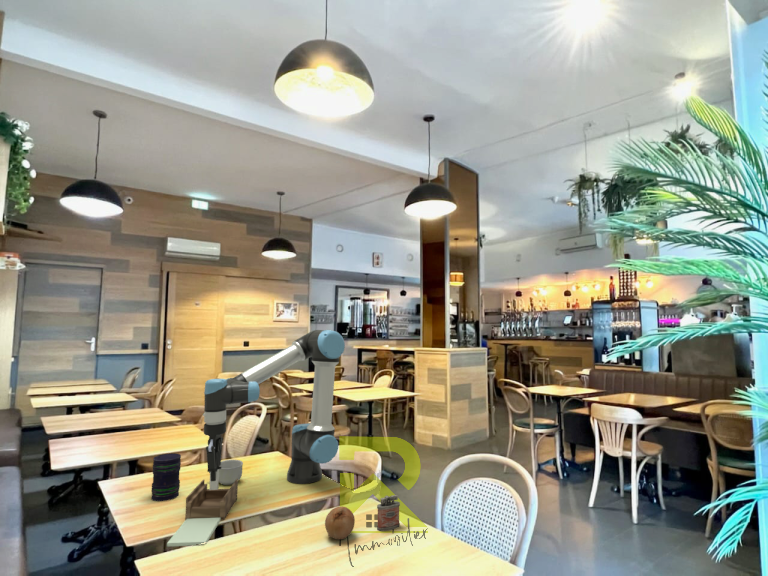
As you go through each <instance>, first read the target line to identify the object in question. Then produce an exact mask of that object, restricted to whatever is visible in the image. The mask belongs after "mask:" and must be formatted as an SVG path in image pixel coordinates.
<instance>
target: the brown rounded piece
mask: <svg viewBox="0 0 768 576" xmlns="http://www.w3.org/2000/svg"><path fill="white" fill-rule="evenodd" d="M355 522H356V519H355V514H354V513H353V512H352V511H351V509H350V508H348V507H346V506H336V507H334V508H332V509H331V510H330V511H329V512H328V513H327V515H326V517H325V521H324V526H325V530H326V532H327V534H328V535H327V536H328V537H330V538H333V539H335V540H337V541H338V540H344V539H345V540H346V538H347V537H349V536H350V535H351V534H352V532H353V530H354V528H355Z"/></svg>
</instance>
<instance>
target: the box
mask: <svg viewBox="0 0 768 576" xmlns="http://www.w3.org/2000/svg"><path fill="white" fill-rule="evenodd" d="M238 487H239V480H238V479H236V480H235V482H234V483H233V484H231V485H230V486H229V488H218V490H210V488H209V489H208V483H205V479H202V480H201V481H200V482H199V483H198V484H197V486H196V487H195V488H193V490H192V491H191V492H190V493H189V494H188V496H186V497H185V514H184V515H185V518H184V521H185V520H186V519H190V518H221V521H224V520H226V518H227V516H228V515H229V514H230V511H232V508H233V507H234V505H235V504H236V502H237V501H238V493H239V492H238V491H239V490H238Z"/></svg>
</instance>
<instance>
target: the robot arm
mask: <svg viewBox="0 0 768 576" xmlns="http://www.w3.org/2000/svg"><path fill="white" fill-rule="evenodd" d="M345 345H346V344H345V340H344V338H343V336H342V335H341V333H339V332H338V331H336V330H330V329H315V330H312V331H309V332H307V333H306V334H304V335H303V336H301V337H299V338H297V339H296V340H294V341H292V343H291V345H289V346H287V347H285V348H284V349H282V350H281V351H279V352H277V353H275V354H273V355H271V356H270V357H268V358H266V359H265V360H262V361H261V362H259V363H257V364H256V365H254V366H252V367H251V368H248V369H246V370H245V371H243V372H241V373H239V374H238V375H236V376H234V377H229V378H211V379H207V380H206V381H205V384H204V392H203V393H204V413H203V414H202V417H203V419H204V420H203V421H204V424H203V434H204V435H205V436H209V437H208V440H207V445H208V446H206V447H205V451H206V460H207V461H206V462H207V470H206V472H207V473H209V472H210V473H209V489H210V490H218V489H220V488H219V487H220V486H219V483H220V482H219V470H218V469H221V467H219V466H220V465H221V461H222V450H223V442H224V441H223V440H224V438H223V436H222V435H223V434H225V433H226V432H227V423H226V420H227V405H232V404H233V405H234V404H242V403H252V402H256V401H258V400H259V397H260V392H261V390H260V386H259V385H260V384H261V383H263V382H265V381H267V380H269V379H270V378H272V377H273V376H275V375H277V374H279V373H281V372H282V371H284V370H285V369H287V368H289V367H291V366H292V365H294V364H296V363H297V362H299V361H303V362H304V361H306V360H307V359H309V358H311V362H312V363H313V365H314V375H313V388H312V403H311V404H312V405H311V415H310V417H311V418H310V423H309V422H308V423H300V424H295V425H294V426H292V430H291V460H290V463H289V467H288V471H287V473H286V480H287V482H289V483H293V484H299V485H302V484H304V485H305V484H312V483H316V482H319V481H320V480H321V479H322V477H323V471H322V468H321V464H323V465H324V464H327V463H330V462H331V461H332V460H333V459H334V458H335V457H336V455H337V453H338V450H339V441H338V440H337V438H336V437H335V429H336V428H335V427H334V425H333V424H332V423H333V422H332V419H333V417H332V416H333V405H334V404H333V403H334V402H333V401H334V389H335V388H334V387H335V376H336V375H335V374H336V373H335V372H336V366H338V364H339V363H340V357H341V356H342V354H343V353H344V351H345V348H346V346H345Z"/></svg>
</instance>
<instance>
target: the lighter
mask: <svg viewBox="0 0 768 576" xmlns="http://www.w3.org/2000/svg"><path fill="white" fill-rule="evenodd" d="M398 497H399V496H398V494H394V495H390V496H388V495H385V496H384V497H381V498H380V503H379V504H376V506H377V507H376V509H377V526H376V530H377V531H378V532H386V531H387V532H388V531H391V530H392V531H393V530H395V529H398V528H400V527H401V525H400V524H401V523H400V506H401V502H400V501H398V500H399V499H398Z"/></svg>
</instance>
